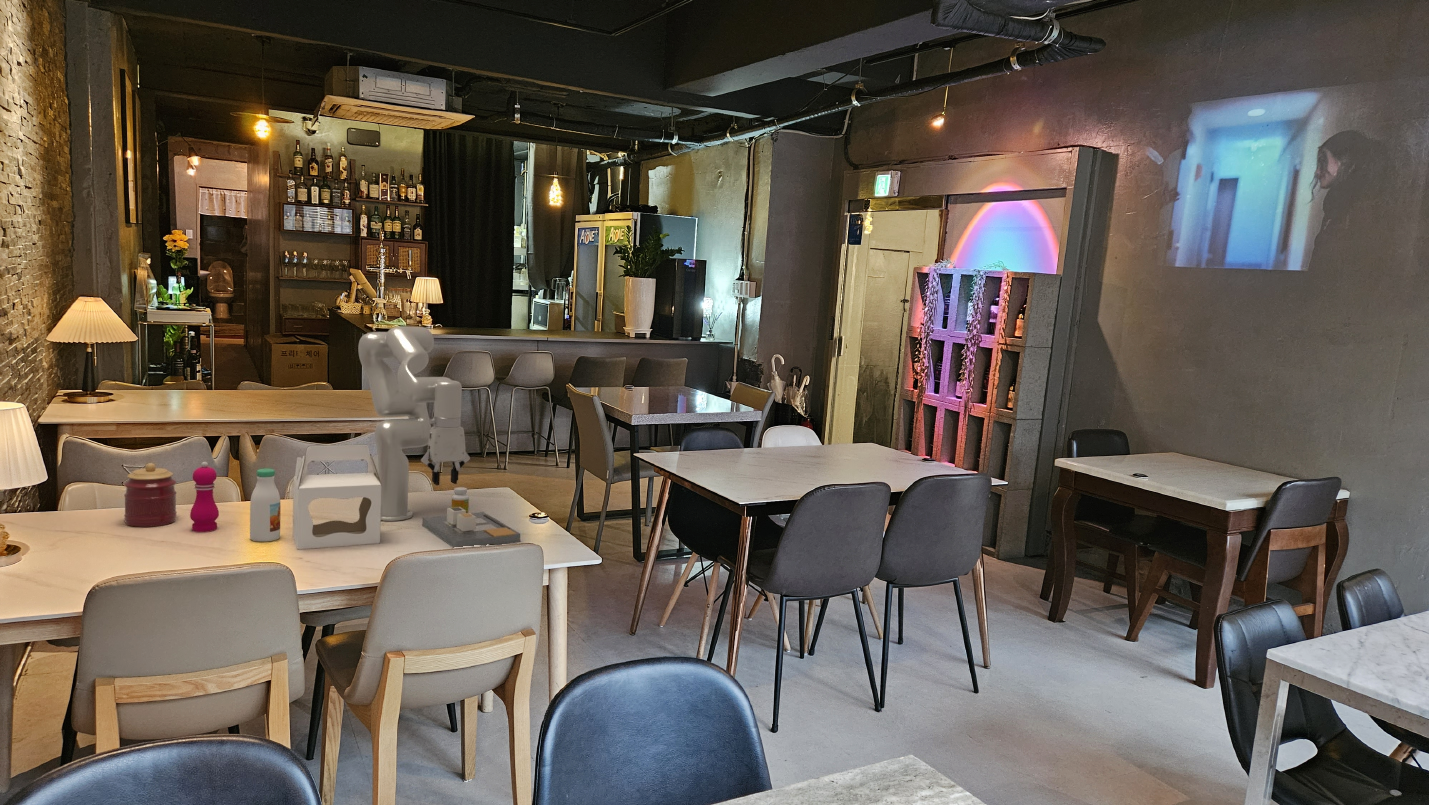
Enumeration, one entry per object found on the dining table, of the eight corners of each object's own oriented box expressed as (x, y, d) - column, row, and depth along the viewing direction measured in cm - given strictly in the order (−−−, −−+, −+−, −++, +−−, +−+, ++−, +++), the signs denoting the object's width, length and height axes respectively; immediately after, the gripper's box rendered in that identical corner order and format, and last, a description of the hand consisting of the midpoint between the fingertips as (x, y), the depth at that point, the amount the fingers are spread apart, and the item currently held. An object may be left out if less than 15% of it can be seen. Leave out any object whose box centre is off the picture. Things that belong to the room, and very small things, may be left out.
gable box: (373, 531, 266) (375, 440, 263) (381, 543, 255) (383, 448, 251) (291, 537, 254) (293, 441, 251) (296, 550, 243) (297, 450, 240)
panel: (455, 549, 254) (455, 540, 253) (422, 525, 276) (422, 516, 275) (520, 541, 266) (520, 532, 266) (483, 519, 288) (483, 511, 287)
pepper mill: (224, 528, 258) (224, 461, 256) (203, 534, 251) (203, 465, 249) (205, 524, 260) (206, 458, 258) (184, 530, 254) (184, 462, 251)
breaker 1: (452, 524, 269) (453, 511, 268) (446, 520, 272) (447, 507, 272) (465, 523, 271) (466, 510, 270) (459, 519, 275) (459, 506, 274)
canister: (182, 523, 260) (182, 465, 258) (131, 530, 250) (131, 469, 248) (168, 514, 269) (168, 457, 267) (118, 520, 259) (118, 461, 257)
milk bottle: (259, 544, 246) (260, 473, 244) (244, 538, 250) (244, 469, 248) (285, 538, 253) (286, 470, 250) (270, 533, 257) (270, 466, 254)
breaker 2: (462, 531, 262) (463, 517, 262) (456, 527, 266) (457, 513, 266) (475, 529, 265) (476, 516, 264) (469, 525, 269) (469, 512, 268)
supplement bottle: (466, 520, 286) (467, 490, 285) (449, 519, 285) (450, 489, 284) (469, 515, 291) (470, 487, 290) (452, 515, 291) (453, 486, 289)
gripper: (422, 425, 249) (420, 488, 251) (479, 423, 260) (477, 484, 262) (413, 421, 255) (411, 483, 257) (470, 419, 265) (467, 479, 268)
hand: (445, 483), depth 259 cm, fingers open, 4 cm apart
